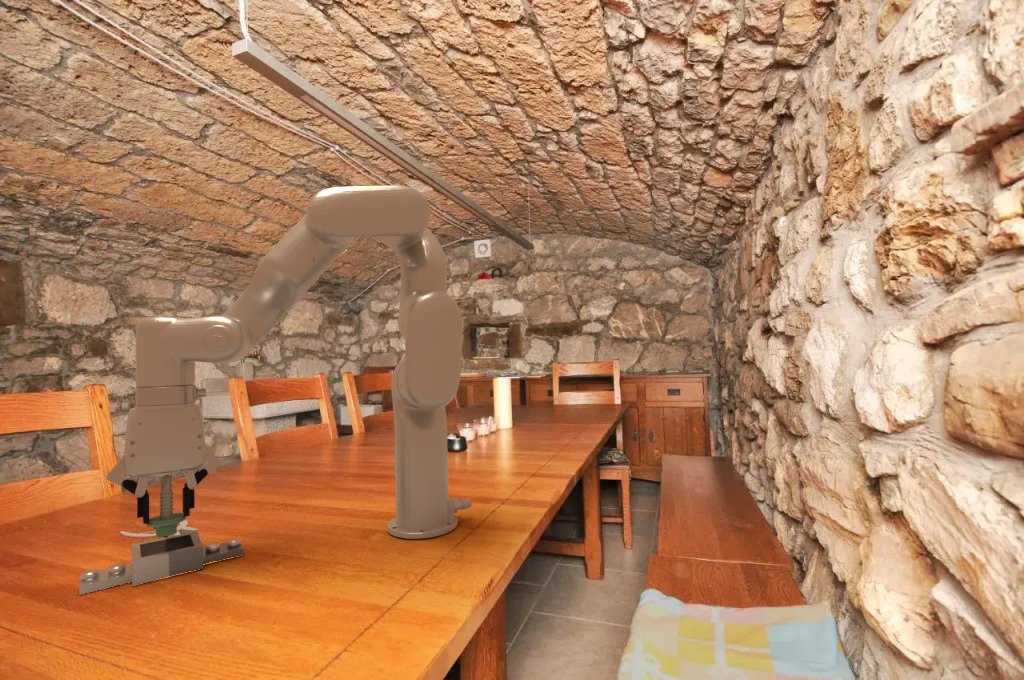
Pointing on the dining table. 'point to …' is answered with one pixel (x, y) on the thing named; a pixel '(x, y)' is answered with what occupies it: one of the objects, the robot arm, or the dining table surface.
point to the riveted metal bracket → (160, 561)
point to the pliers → (180, 530)
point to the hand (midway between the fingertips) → (166, 516)
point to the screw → (166, 511)
